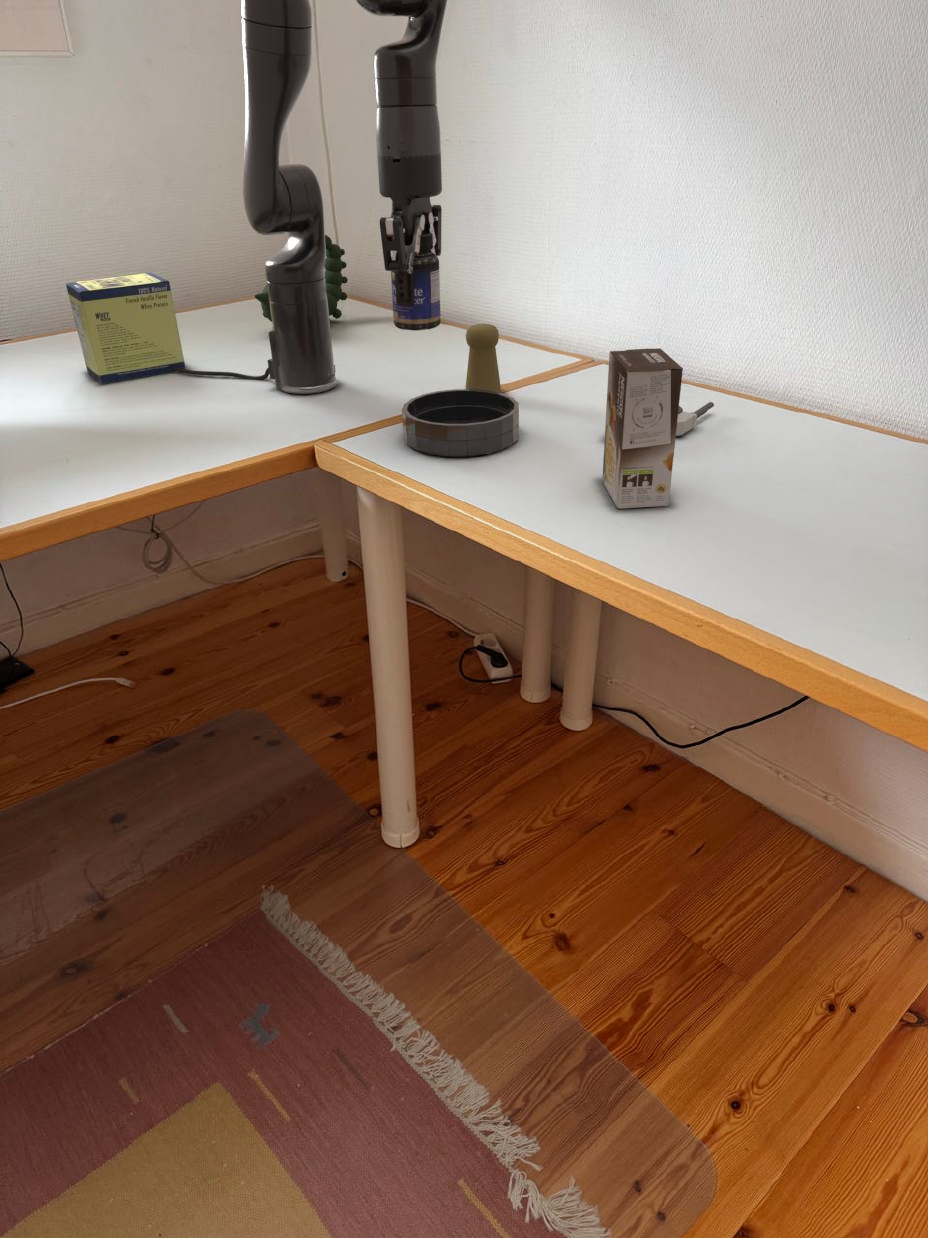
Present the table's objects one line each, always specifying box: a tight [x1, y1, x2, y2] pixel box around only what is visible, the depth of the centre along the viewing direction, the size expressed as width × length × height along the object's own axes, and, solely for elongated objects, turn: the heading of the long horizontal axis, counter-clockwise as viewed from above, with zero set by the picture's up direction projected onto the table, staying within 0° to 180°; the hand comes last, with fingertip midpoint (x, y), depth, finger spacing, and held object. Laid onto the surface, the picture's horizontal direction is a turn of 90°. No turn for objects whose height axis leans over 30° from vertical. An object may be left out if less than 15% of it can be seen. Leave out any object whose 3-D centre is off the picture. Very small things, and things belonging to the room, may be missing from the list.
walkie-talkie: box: [676, 401, 715, 437], centre depth 121 cm, size 9×4×20 cm
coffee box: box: [601, 347, 684, 510], centre depth 99 cm, size 9×6×16 cm
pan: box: [401, 388, 520, 458], centre depth 120 cm, size 16×16×5 cm
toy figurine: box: [254, 234, 348, 325], centre depth 176 cm, size 9×19×25 cm
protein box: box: [65, 272, 187, 385], centre depth 152 cm, size 10×16×16 cm
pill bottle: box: [390, 232, 442, 332], centre depth 108 cm, size 6×6×11 cm
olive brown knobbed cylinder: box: [464, 323, 502, 393], centre depth 135 cm, size 6×6×11 cm
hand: (416, 299), depth 109 cm, fingers closed on pill bottle, 6 cm apart
